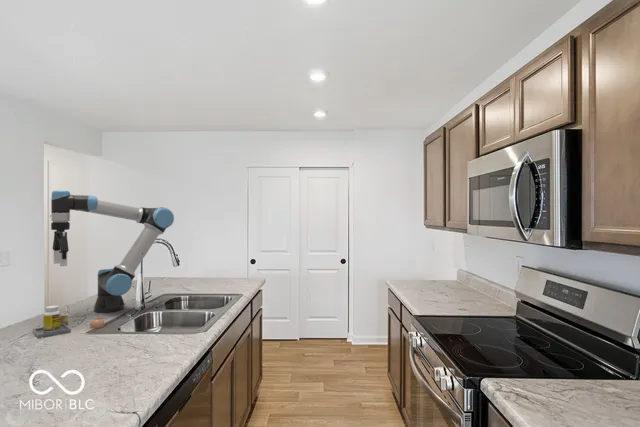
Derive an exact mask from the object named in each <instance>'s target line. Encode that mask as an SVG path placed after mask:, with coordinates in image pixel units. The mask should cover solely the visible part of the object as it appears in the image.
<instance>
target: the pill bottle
mask: <svg viewBox="0 0 640 427" xmlns="http://www.w3.org/2000/svg"><path fill="white" fill-rule="evenodd" d="M60 314H61V312H60V311H59V305H49V306H46V307H45V312H44V313H43V324H42V327H43V332H45V333H50V332H55V331H59V330H60Z"/></svg>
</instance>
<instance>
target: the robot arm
mask: <svg viewBox="0 0 640 427" xmlns="http://www.w3.org/2000/svg"><path fill="white" fill-rule="evenodd" d="M50 200H51V202H50V203H51V205H50V206H51V207H50V208H51V209H50V210H51V214H50V215H49V217H50V218H51V219H50V221H51V224H50V229H51V230H52V231H54V232H53V235H54V236H53V243H52V250H53V265H57V264H59V266H60V267H68V252H69V243H68V242H69V241H68V231H67V230H70V226H71V224H70V219H71V211H75V212H76V211H79V212H85V213H91V214H97V215H103V216H107V217H112V218H114V217H115V218H119V219H124V220H130V221H135V222H136V223H137V224H142V225H144V226H143V227H144V228H143V229H142V231H141V232H140V233H139V235H138V236H137V238H136V240H135V241H134V242H133V244H132V245H131V247H130V249H129V250H128V251H127V253H126V254H125V256H124V257H123V259H122V260H121V262H120V263H119V264H117V265H114V266H113V268H103V269H99V270H98V271H97V276H96V277H97V298H96V300H95V303H94V306H93V312H94V313H113V312H117V311H122V310H124V309H125V307H126V306H125V305H126V304H125V301H124V299H123V296H122V295H125V294H127V293H128V292H129V291H130V290H131V289H132V285H133V284H132V283H133V280H134V278H135V277H136V274H135V272H136V270H137V269H138V267H139V266H140V264H141V262H142V261H143V259H144V258H145V256H146V255H147V254H148V252H149V250H150V249H151V247H152V246H153V244H154V243H155V241H156V240H157V238H158V237H159V236H161V235H163V234H164V232H166V229H167V228H169V227H171V226H172V225H173V224H174V221H175V216H174V214H173V212H172V210H171V209H169V208H167V207H143V206H140V207H134V206H129V205H123V204H120V203H114V202H109V201H104V200H99V199H98V197H97V196H95V195H84V194H83V195H76V194H75V195H74V194H71V192H70V191H69V190H59V189H58V190H52V191H51V199H50ZM142 253H143V254H142Z"/></svg>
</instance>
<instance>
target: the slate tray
mask: <svg viewBox="0 0 640 427" xmlns="http://www.w3.org/2000/svg"><path fill="white" fill-rule="evenodd" d="M68 332H70V333H71V332H72V329H71V328H70V327H69V325H65V324H60V330H59V331H55V332H50V333H45V332H43V326H42V327H38V328H32V333H33V334H34V336H35V337H36V338H37V339H42V337H43V338H48V336H49V337H53V335H54V336H58V334H59V335H63V333H65V334H69V333H68Z"/></svg>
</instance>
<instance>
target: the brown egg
mask: <svg viewBox="0 0 640 427" xmlns="http://www.w3.org/2000/svg"><path fill="white" fill-rule="evenodd" d="M105 320H106V319H105V318H104V317H96V318H92V319H90V320H89V328H90V329H91V330H96V328H97V329H101V328H104V327H105Z"/></svg>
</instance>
